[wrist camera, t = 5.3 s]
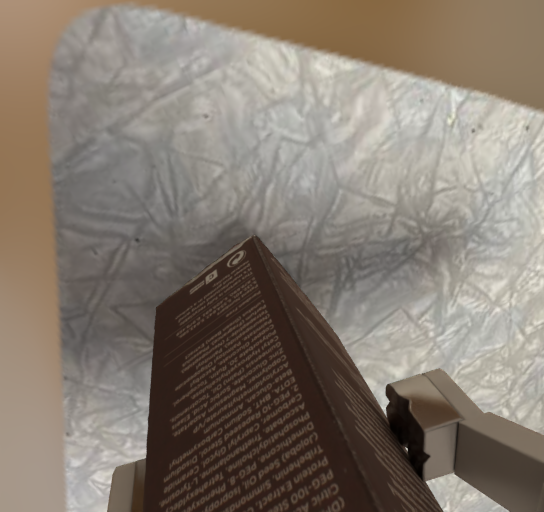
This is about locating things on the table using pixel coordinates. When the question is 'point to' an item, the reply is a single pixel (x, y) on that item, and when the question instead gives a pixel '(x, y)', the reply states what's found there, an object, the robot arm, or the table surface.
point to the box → (264, 404)
